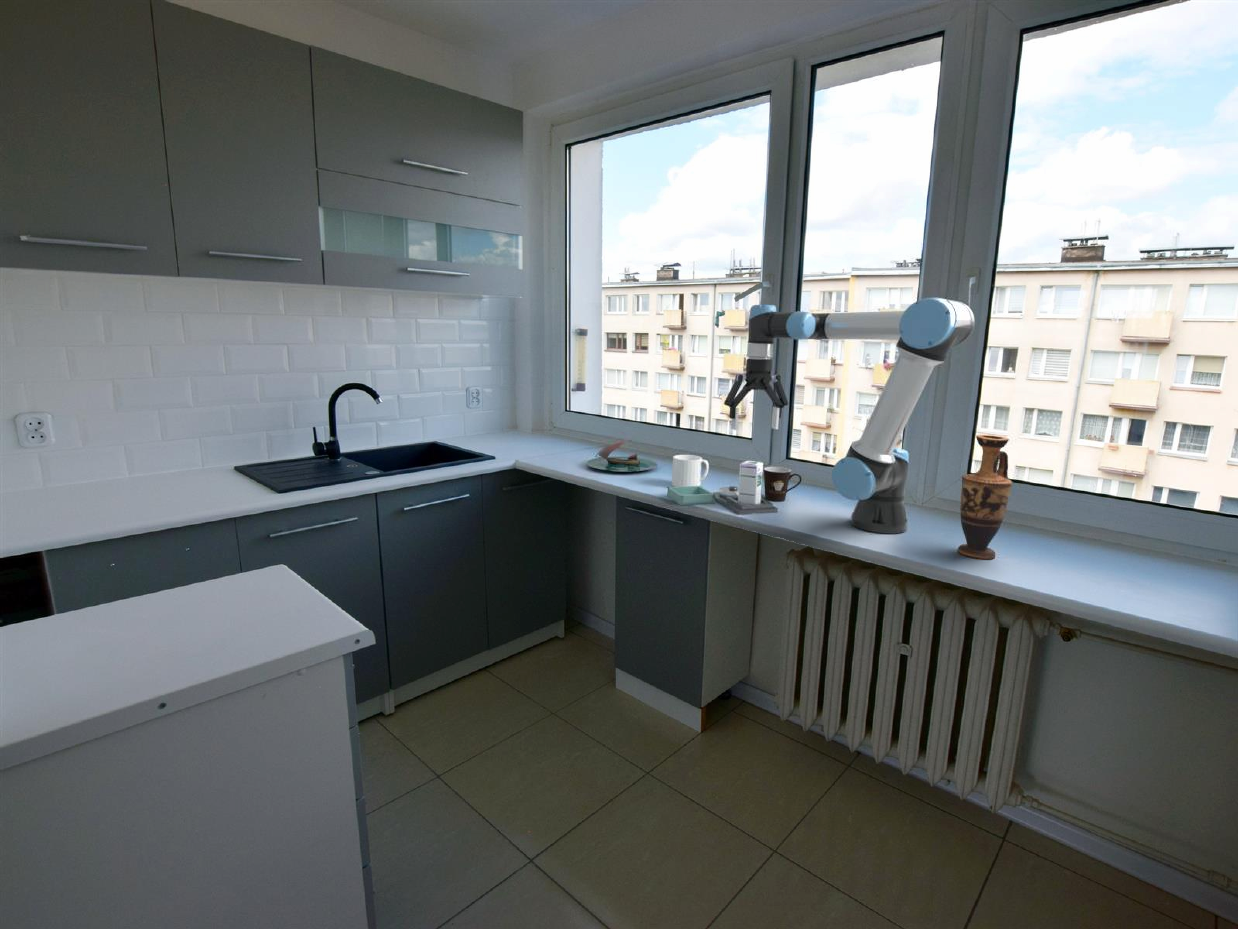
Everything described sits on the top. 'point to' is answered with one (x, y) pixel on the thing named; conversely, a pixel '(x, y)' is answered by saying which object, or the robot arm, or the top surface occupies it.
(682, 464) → the mug
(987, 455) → the vase
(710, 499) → the tray
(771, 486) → the coffee mug
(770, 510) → the pulley plate
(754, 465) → the syrup box
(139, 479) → the top surface
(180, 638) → the top surface
